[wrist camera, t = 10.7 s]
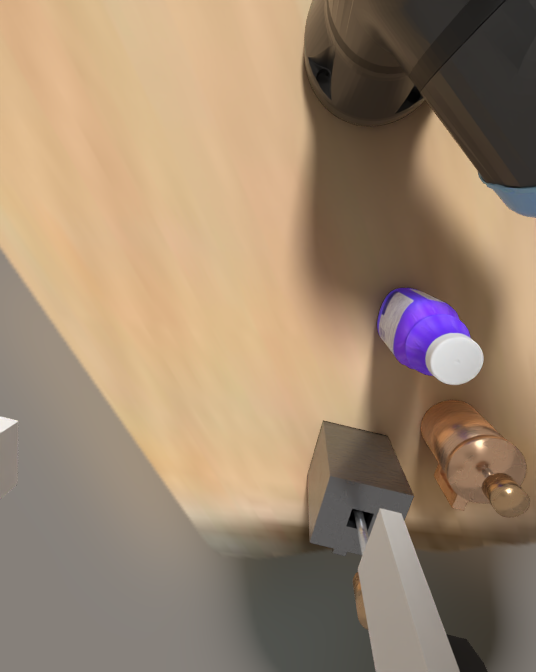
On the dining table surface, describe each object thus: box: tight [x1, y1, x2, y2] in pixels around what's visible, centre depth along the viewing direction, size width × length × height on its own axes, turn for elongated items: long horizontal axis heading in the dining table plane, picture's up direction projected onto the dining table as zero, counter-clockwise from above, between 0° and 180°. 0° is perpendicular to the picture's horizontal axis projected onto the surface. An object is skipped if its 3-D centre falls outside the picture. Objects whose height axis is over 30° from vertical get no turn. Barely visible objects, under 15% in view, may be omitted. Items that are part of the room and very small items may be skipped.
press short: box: [421, 400, 530, 517], centre depth 42 cm, size 11×8×15 cm
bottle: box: [377, 288, 483, 385], centre depth 37 cm, size 7×6×17 cm
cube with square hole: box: [307, 421, 414, 556], centre depth 45 cm, size 12×9×12 cm
